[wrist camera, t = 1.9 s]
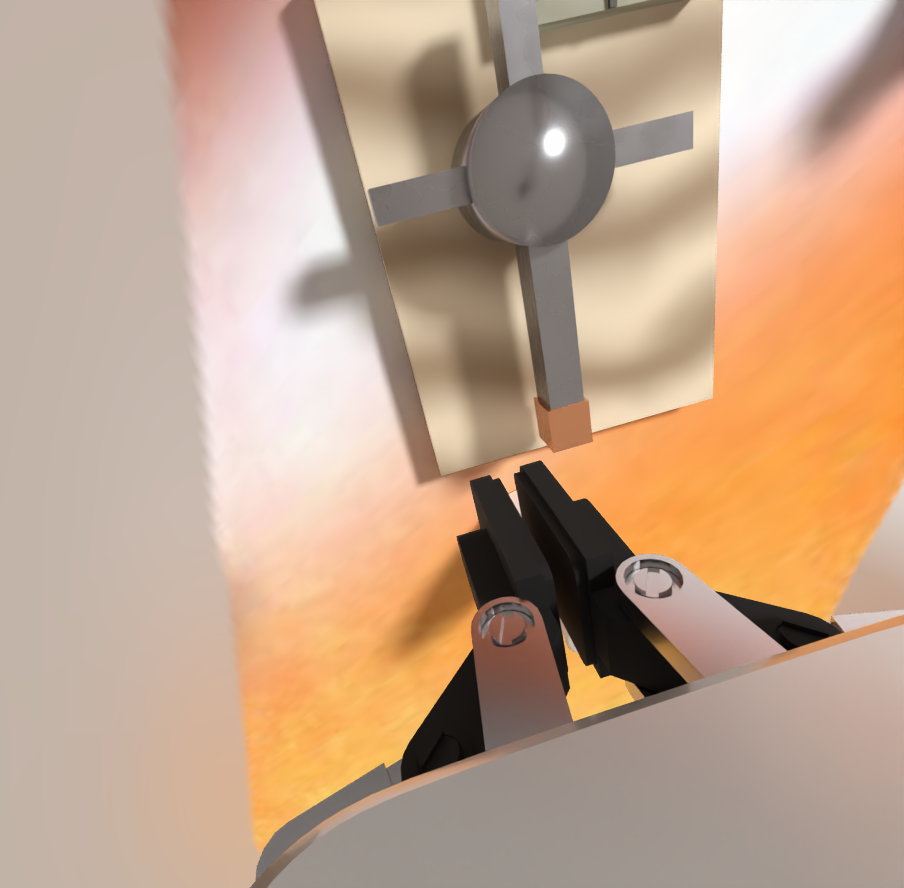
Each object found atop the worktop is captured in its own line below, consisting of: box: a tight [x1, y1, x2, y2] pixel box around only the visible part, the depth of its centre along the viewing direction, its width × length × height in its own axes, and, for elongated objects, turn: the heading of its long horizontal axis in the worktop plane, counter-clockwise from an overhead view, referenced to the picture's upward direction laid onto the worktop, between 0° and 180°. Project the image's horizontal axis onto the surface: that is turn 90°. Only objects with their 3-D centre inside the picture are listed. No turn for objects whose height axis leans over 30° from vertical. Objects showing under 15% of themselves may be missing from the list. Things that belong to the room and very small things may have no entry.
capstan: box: [367, 0, 693, 453], centre depth 23 cm, size 20×14×4 cm
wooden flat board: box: [313, 0, 723, 476], centre depth 25 cm, size 24×18×3 cm
